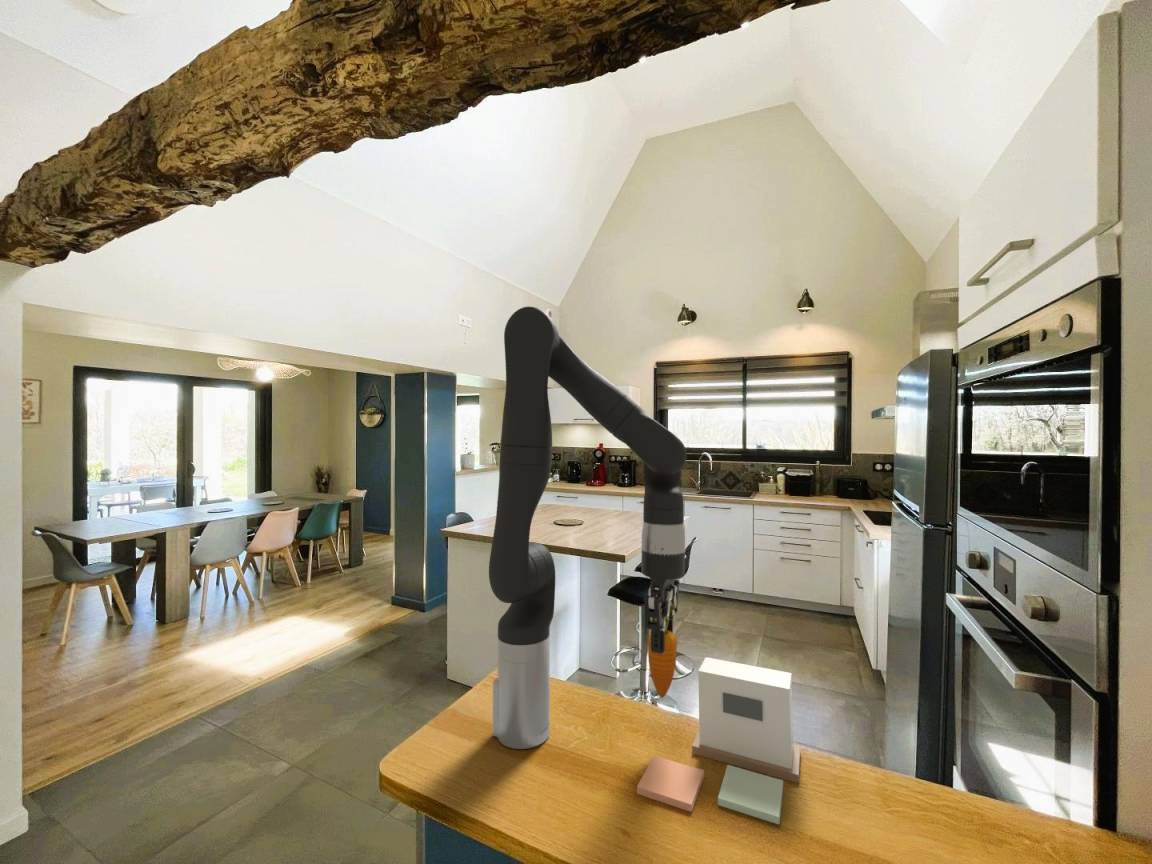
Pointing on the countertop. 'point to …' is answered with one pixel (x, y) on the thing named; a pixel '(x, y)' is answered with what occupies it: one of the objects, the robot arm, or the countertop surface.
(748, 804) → the sage tile
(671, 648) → the carrot
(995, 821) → the countertop surface
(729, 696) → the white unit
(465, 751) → the countertop surface
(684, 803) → the terracotta tile
